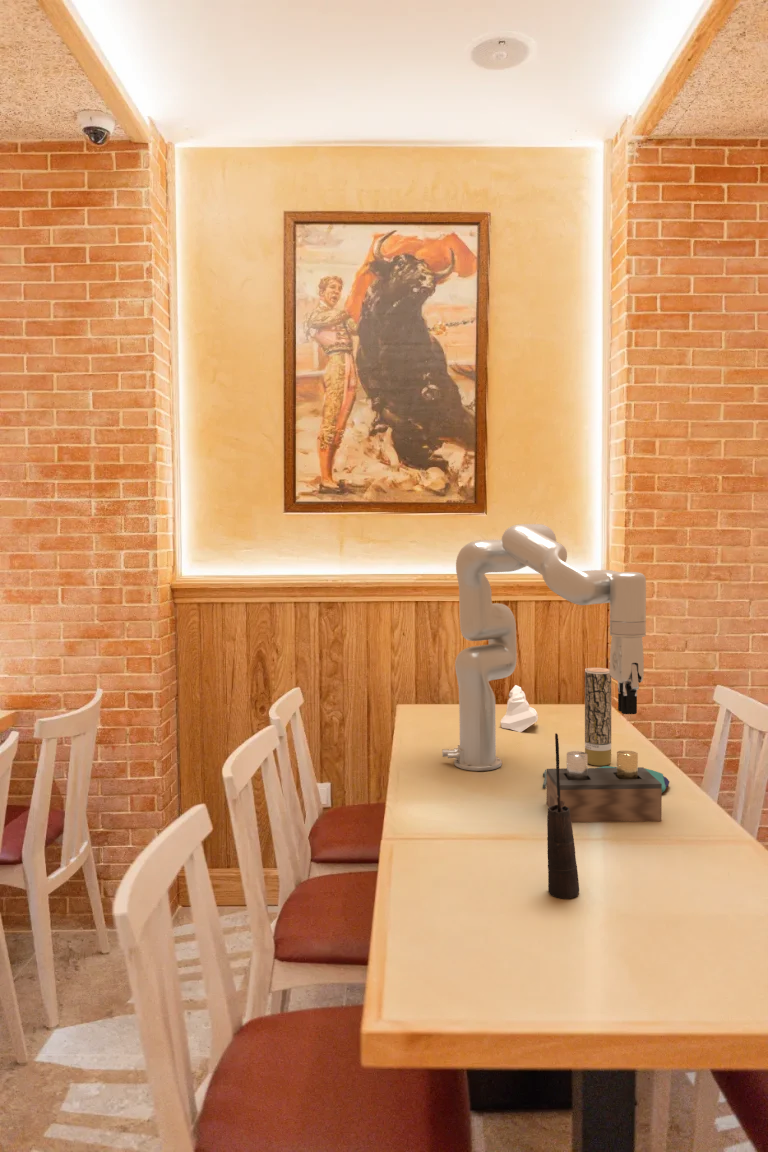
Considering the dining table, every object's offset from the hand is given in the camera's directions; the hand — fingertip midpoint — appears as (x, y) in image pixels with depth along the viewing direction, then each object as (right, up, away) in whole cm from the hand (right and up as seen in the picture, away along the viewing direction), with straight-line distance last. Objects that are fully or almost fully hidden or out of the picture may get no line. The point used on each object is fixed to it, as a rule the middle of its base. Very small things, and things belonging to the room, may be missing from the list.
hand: (627, 712), depth 176 cm
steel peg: (-11, -17, +1) cm, 20 cm away
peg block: (-5, -22, +1) cm, 23 cm away
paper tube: (+4, -20, +38) cm, 43 cm away
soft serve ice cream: (-10, -18, +78) cm, 81 cm away
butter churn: (-22, -25, -37) cm, 49 cm away
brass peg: (0, -17, +1) cm, 17 cm away
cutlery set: (+1, -22, +21) cm, 30 cm away
